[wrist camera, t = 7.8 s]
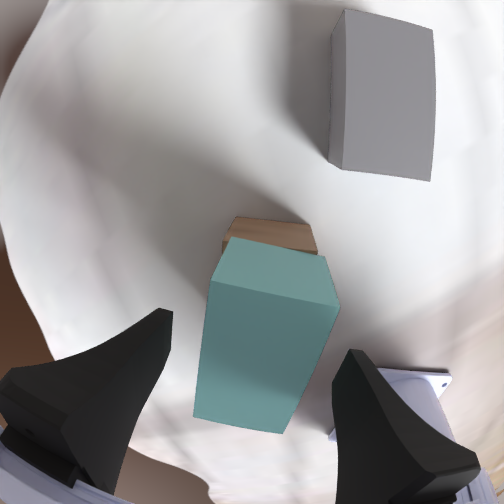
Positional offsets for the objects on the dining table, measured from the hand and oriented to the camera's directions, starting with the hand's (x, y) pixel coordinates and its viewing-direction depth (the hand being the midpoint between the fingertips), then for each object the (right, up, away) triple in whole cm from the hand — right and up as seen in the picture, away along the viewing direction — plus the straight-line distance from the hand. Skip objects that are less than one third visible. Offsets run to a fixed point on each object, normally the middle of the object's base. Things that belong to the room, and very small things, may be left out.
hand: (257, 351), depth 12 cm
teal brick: (0, +1, +2) cm, 3 cm away
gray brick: (+6, +12, +2) cm, 13 cm away
